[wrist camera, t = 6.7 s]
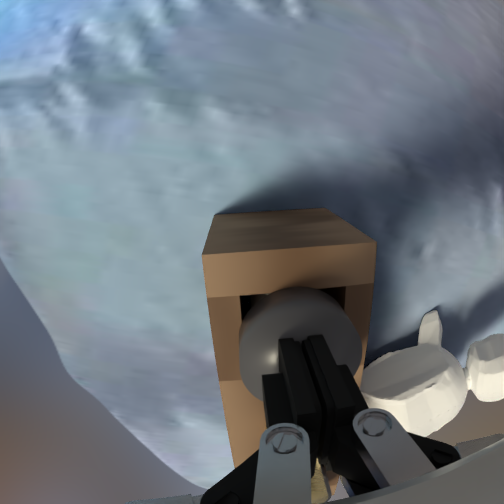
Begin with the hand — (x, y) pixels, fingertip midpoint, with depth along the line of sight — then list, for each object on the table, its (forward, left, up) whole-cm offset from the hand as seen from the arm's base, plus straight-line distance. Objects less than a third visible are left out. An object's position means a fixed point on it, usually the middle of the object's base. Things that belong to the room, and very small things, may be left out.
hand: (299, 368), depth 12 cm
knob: (0, 0, -9) cm, 9 cm away
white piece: (-13, +9, -10) cm, 19 cm away
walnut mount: (0, +6, -10) cm, 12 cm away
